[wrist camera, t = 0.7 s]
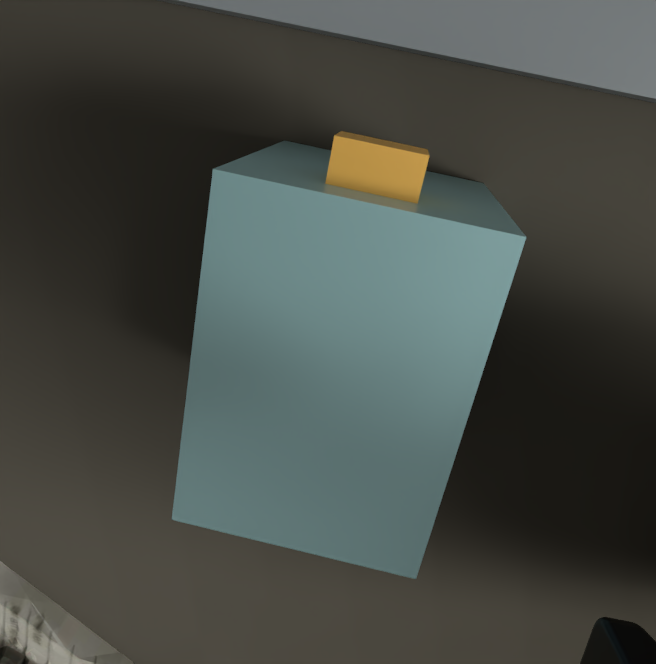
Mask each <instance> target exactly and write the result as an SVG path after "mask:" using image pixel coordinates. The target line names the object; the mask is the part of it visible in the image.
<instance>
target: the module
mask: <svg viewBox="0 0 656 664" xmlns="http://www.w3.org/2000/svg"><path fill="white" fill-rule="evenodd" d="M428 160H429V152H428V149H424V148H419V147H415V146H410V145H405V144H401V143H396V142H391V141H386V140H382V139H377V138H372V137H368V136H363V135H358V134H354V133H349V132H344V131H341V132H339V133H338V134H336V135H334V140H333V145H332V150H326V149H322V148H317V147H312V146H308V145H303V144H298V143H294V142H289V141H282V142H279V143H277V144H274V145H272V146H269V147H267V148H264V149H262V150H259V151H257V152H254V153H252V154H249V155H247V156H244V157H242V158H239V159H237V160H234V161H232V162H229V163H227V164H224V165H222V166H219V167H216V168H214V169H213V172H212V181H211V189H210V198H209V206H208V215H207V223H206V232H205V240H204V249H203V258H202V266H201V275H200V283H199V292H198V300H197V309H196V317H195V326H194V334H193V343H192V351H191V360H190V368H189V377H188V385H187V394H186V402H185V411H184V420H183V428H182V437H181V445H180V454H179V462H178V471H177V479H176V488H175V496H174V505H173V513H172V520H175V521H179V522H183V523H187V524H192V525H196V526H200V527H204V528H208V529H212V530H216V531H220V532H224V533H228V534H233V535H237V536H241V537H245V538H249V539H253V540H257V541H261V542H265V543H270V544H274V545H278V546H282V547H286V548H290V549H294V550H298V551H302V552H307V553H311V554H315V555H319V556H323V557H327V558H331V559H335V560H339V561H344V562H348V563H352V564H356V565H360V566H364V567H368V568H372V569H376V570H381V571H385V572H389V573H393V574H397V575H401V576H405V577H409V578H413V579H416V577H417V574H418V571H419V568H420V565H421V562H422V559H423V555H424V552H425V549H426V546H427V543H428V540H429V537H430V534H431V531H432V528H433V525H434V521H435V518H436V515H437V512H438V509H439V506H440V503H441V500H442V497H443V494H444V491H445V487H446V484H447V481H448V478H449V475H450V472H451V469H452V466H453V463H454V460H455V457H456V453H457V450H458V447H459V444H460V441H461V438H462V435H463V432H464V429H465V426H466V422H467V419H468V416H469V413H470V410H471V407H472V404H473V401H474V398H475V395H476V392H477V388H478V385H479V382H480V379H481V376H482V373H483V370H484V367H485V364H486V361H487V358H488V354H489V351H490V348H491V345H492V342H493V339H494V336H495V333H496V330H497V327H498V323H499V320H500V317H501V314H502V311H503V308H504V305H505V302H506V299H507V296H508V293H509V289H510V286H511V283H512V280H513V277H514V274H515V271H516V268H517V265H518V262H519V259H520V255H521V252H522V249H523V246H524V243H525V240H526V236H525V235H524V233H523V232H522V231H521V230H520V228H519V227H518V226H517V225H516V223H515V222H514V221H513V220H512V218H511V217H510V216H509V215H508V213H507V212H506V211H505V210H504V208H503V207H502V206H501V205H500V203H499V202H498V201H497V200H496V198H495V197H494V196H493V195H492V193H491V192H490V191H489V190H488V188H487V187H486V186H485V185H484V183H480V182H476V181H471V180H466V179H462V178H457V177H452V176H448V175H443V174H438V173H434V172H429V171H426V168H427V164H428Z"/></svg>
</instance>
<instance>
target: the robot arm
mask: <svg viewBox="0 0 656 664" xmlns="http://www.w3.org/2000/svg"><path fill="white" fill-rule="evenodd" d="M580 664H656V642H655V640H654V639H653V638H652V637H651V636H650V635H649V634H648V633H647V632H646V631H645V630H644V629H643V628H642V627H640V626H639V625H638V624H635V623H633V622H629V621H623V620H618V619H613V618H608V617H603V618H600V619H598V620H597V621H596V623H595V625H594V627H593V629H592V632H591V635H590V638H589V640H588V643H587V646H586V649H585V651H584V654H583V657H582V660H581V662H580Z"/></svg>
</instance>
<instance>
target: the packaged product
mask: <svg viewBox="0 0 656 664" xmlns="http://www.w3.org/2000/svg"><path fill="white" fill-rule="evenodd" d="M0 664H134V663H133V662H132V661H131V660H129V659H128V658H127V657H126V656H124V655H123V654H121V653H120V652H119V651H117V650H116V649H115V648H113V647H112V646H111V645H109V644H108V643H107V642H106V641H104V640H103V639H102V638H100V637H99V636H98V635H96V634H95V633H94V632H93V631H91V630H90V629H89V628H87V627H86V626H85V625H83V624H82V623H81V622H79V621H78V620H77V619H76V618H74V617H73V616H72V615H70V614H69V613H68V612H67V611H65V610H64V609H63V608H62V607H60V606H59V605H58V604H56V603H55V602H54V601H53V600H51V599H50V598H49V597H47V596H46V595H45V594H43V593H42V592H41V591H39V590H38V589H37V588H35V587H34V586H33V585H31V584H30V583H29V582H27V581H26V580H25V579H23V578H22V577H21V576H19V575H18V574H17V573H15V572H14V571H13V570H11V569H10V568H8V567H7V566H6V565H4V564H3V563H2V562H1V561H0Z"/></svg>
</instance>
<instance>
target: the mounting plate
mask: <svg viewBox="0 0 656 664" xmlns="http://www.w3.org/2000/svg"><path fill="white" fill-rule="evenodd" d="M158 1H163V2H168V3H172V4H177V5H182V6H187V7H192V8H197V9H202V10H206V11H211V12H216V13H221V14H226V15H231V16H236V17H240V18H245V19H250V20H255V21H260V22H265V23H270V24H274V25H279V26H284V27H289V28H294V29H299V30H303V31H308V32H313V33H318V34H323V35H328V36H333V37H337V38H342V39H347V40H352V41H357V42H362V43H367V44H371V45H376V46H381V47H386V48H391V49H396V50H400V51H405V52H410V53H415V54H420V55H425V56H430V57H434V58H439V59H444V60H449V61H454V62H459V63H464V64H468V65H473V66H478V67H483V68H488V69H493V70H497V71H502V72H507V73H512V74H517V75H522V76H527V77H531V78H536V79H541V80H546V81H551V82H556V83H561V84H565V85H570V86H575V87H580V88H585V89H590V90H594V91H599V92H604V93H609V94H614V95H619V96H624V97H628V98H633V99H638V100H643V101H648V102H653V103H656V0H158Z"/></svg>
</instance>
